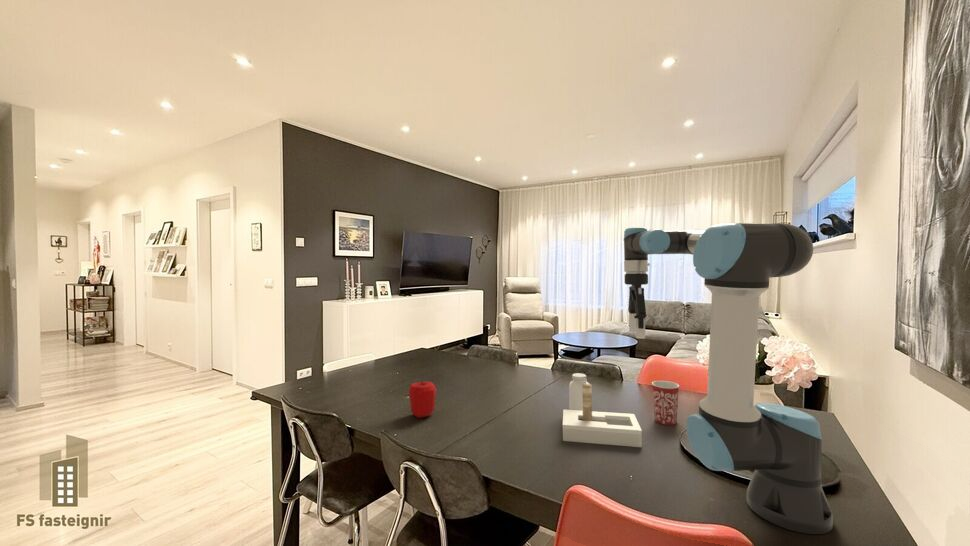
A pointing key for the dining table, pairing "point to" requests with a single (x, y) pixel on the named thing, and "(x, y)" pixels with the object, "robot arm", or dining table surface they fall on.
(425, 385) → the red cylinder
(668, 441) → the dining table surface
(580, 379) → the pill bottle
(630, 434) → the keyhole board
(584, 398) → the peg
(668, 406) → the mug
